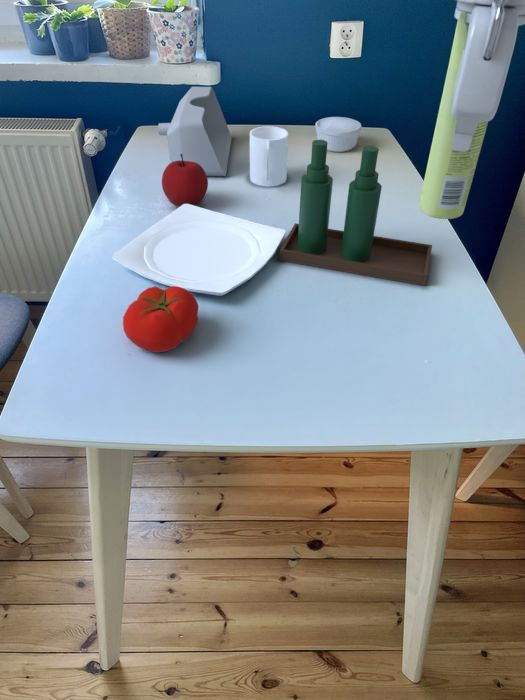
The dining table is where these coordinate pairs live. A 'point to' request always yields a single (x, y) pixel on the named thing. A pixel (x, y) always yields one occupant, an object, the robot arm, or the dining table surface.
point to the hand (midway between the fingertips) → (460, 137)
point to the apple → (184, 183)
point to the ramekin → (338, 132)
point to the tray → (384, 262)
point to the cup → (268, 156)
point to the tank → (199, 132)
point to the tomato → (161, 318)
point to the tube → (444, 163)
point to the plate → (201, 250)
